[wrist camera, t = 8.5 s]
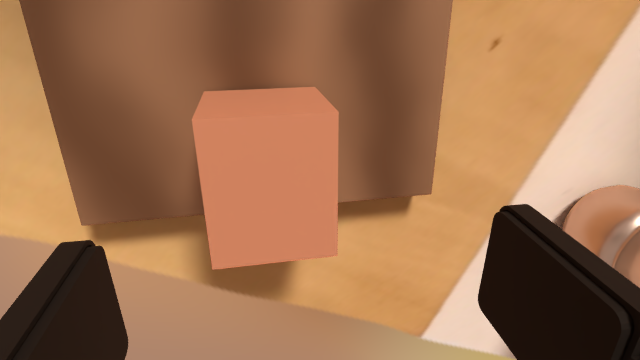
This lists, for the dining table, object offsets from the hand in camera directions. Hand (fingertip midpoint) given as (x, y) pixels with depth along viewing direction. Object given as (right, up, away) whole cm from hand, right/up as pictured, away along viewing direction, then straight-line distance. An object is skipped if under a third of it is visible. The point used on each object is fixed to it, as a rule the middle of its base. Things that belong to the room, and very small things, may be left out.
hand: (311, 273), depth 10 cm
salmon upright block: (-2, +4, +10) cm, 11 cm away
